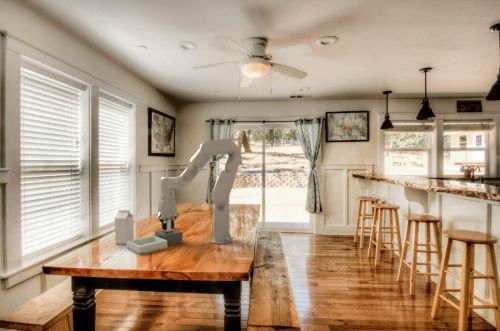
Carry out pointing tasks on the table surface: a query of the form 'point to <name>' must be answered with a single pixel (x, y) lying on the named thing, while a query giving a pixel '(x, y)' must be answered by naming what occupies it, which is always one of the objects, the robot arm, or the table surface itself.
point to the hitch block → (170, 236)
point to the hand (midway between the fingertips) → (168, 228)
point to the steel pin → (168, 225)
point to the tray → (146, 244)
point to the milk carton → (123, 227)
